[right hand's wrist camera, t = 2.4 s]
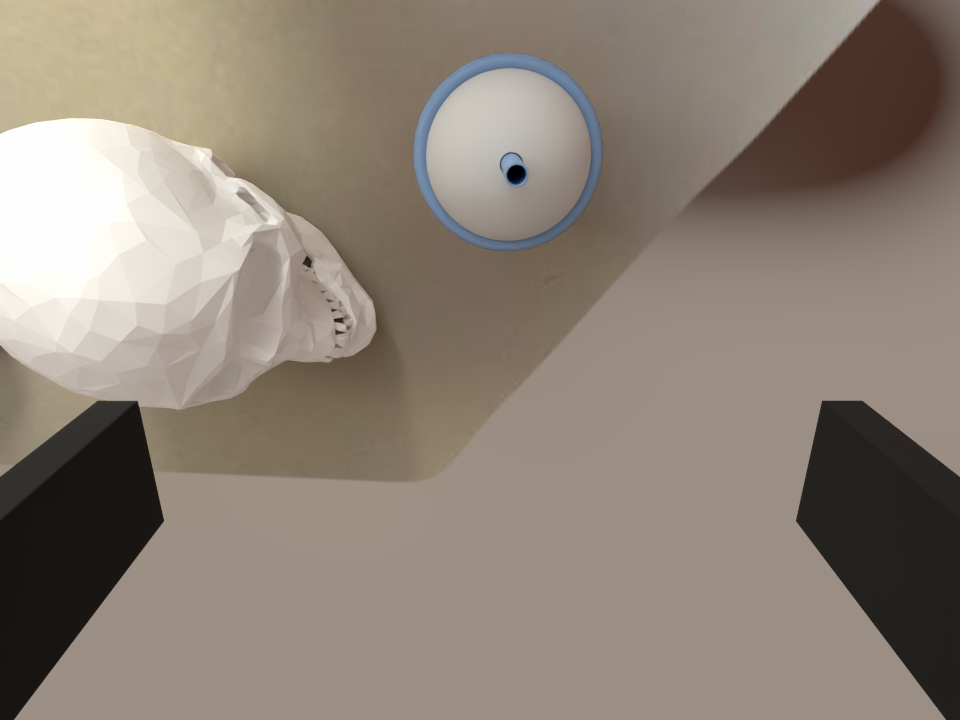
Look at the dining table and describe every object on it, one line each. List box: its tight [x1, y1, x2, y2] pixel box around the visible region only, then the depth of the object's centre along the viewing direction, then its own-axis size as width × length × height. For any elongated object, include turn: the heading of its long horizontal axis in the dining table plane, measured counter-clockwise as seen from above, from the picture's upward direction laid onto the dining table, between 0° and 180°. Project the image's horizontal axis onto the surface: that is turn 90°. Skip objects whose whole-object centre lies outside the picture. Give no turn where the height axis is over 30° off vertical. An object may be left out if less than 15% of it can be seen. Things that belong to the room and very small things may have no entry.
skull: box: [0, 119, 377, 410], centre depth 36 cm, size 13×22×16 cm, turn 66°
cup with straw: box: [413, 53, 603, 251], centre depth 32 cm, size 9×9×18 cm
